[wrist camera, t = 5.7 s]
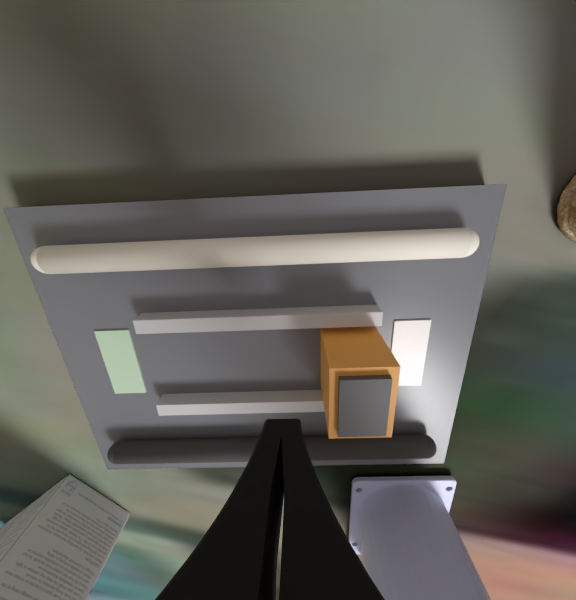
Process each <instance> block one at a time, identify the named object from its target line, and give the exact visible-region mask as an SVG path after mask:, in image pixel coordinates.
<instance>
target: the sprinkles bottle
mask: <svg viewBox="0 0 576 600" xmlns="http://www.w3.org/2000/svg"><path fill="white" fill-rule="evenodd" d="M557 213H558V214H557V216H558V220H557V222H558V224H559V228H560V230H561V232H562V233H563V234H564V235H565V236H566V237H567V238H569V239H570V240H571V241H574V242H575V243H576V175H575V176H574V177H573V178H572V180H571V181H570V183H569V184H568V185H567V186H566V188H565V189H564V191H563V192H562V194H561V196H560V201H559V204H558V208H557Z"/></svg>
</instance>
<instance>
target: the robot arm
mask: <svg viewBox="0 0 576 600" xmlns="http://www.w3.org/2000/svg"><path fill="white" fill-rule="evenodd" d="M455 488H456V480H455V479H454V477H452V476H390V477H356V478H354V479H353V480H352V489H351V506H350V524H349V541H348V539H347V537H346V535H345V533H344V531H343V530H342V528H341V526H340V524H339V522H338V520H337V518H336V516H335V514H334V512H333V510H332V508H331V506H330V504H329V502H328V500H327V498H326V496H325V494H324V491H323V489H322V487H321V484H320V482H319V480H318V477H317V475H316V473H315V470H314V467H313V465H312V462H311V459H310V456H309V454H308V451H307V447H306V444H305V440H304V437H303V432H302V427H301V421H300V420H299V419H298V418H297V419H267V420H266V421H265V423H264V426H263V429H262V432H261V434H260V437H259V440H258V442H257V444H256V447H255V449H254V451H253V453H252V455H251V457H250V459H249V461H248V464H247V466H246V468H245V470H244V472H243V473H242V475H241V477H240V479H239V481H238V483H237V484H236V486H235V488H234V490H233V492H232V493H231V495H230V497H229V498H228V500H227V502H226V503H225V505H224V507H223V508H222V510H221V511H220V513H219V515H218V516H217V518H216V519H215V521H214V522H213V524H212V525H211V527H210V528H209V530H208V531H207V532H206V534H205V535H204V537H203V538H202V540H201V541H200V543H199V544H198V545H197V547H196V548H195V550H194V551H193V552H192V554H191V555H190V556H189V558H188V559H187V560H186V561H185V563H184V564H183V565H182V567H181V568H180V569H179V570H178V572H177V573H176V574H175V575H174V577H173V578H172V579H171V581H170V582H169V583H168V584H167V586H166V587H165V588H164V589H163V591H162V592H161V593H160V594H159V596H158V597H157V598H156V599H155V600H275V597H276V569H277V555H278V545H279V536H280V526H281V516H282V506H283V497H284V517H283V537H282V557H281V575H280V592H279V600H491V599H490V597H489V595H488V592H487V590H486V588H485V586H484V584H483V582H482V580H481V578H480V576H479V574H478V572H477V570H476V568H475V566H474V564H473V562H472V560H471V558H470V556H469V554H468V552H467V550H466V547H465V545H464V543H463V541H462V539H461V537H460V535H459V533H458V531H457V529H456V527H455V525H454V523H453V521H452V519H451V517H450V515H449V511H450V507H451V503H452V499H453V495H454V491H455ZM357 554H361V558H362V562H361V561H360V559H359V557H358V556H357Z"/></svg>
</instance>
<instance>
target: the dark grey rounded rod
mask: <svg viewBox="0 0 576 600" xmlns="http://www.w3.org/2000/svg"><path fill="white" fill-rule="evenodd" d="M303 437H304V440H305V444H306V447H307V451H308V454H309V456H310V459H311V461H323V460H376V459H427V458H431V457H433V456H434V455H435V453H436V449H437V448H436V444H435V442H434V440H433V439H432V438H431V437H430V436H428V435H425V434H395V435H392V437H383V438H336V439H329V438H328V436H303ZM258 440H259V437H254V438H207V439H161V440H121V441H117V442H115V443H114V444H113V445H112V446H111V447H110V448H109V450H108V453H107V457H108V460H109V461H110V462H111V463H113V464H163V463H216V462H248V461H249V459H250V457H251V455H252V453H253V451H254V449H255V447H256V444H257V442H258Z"/></svg>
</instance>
